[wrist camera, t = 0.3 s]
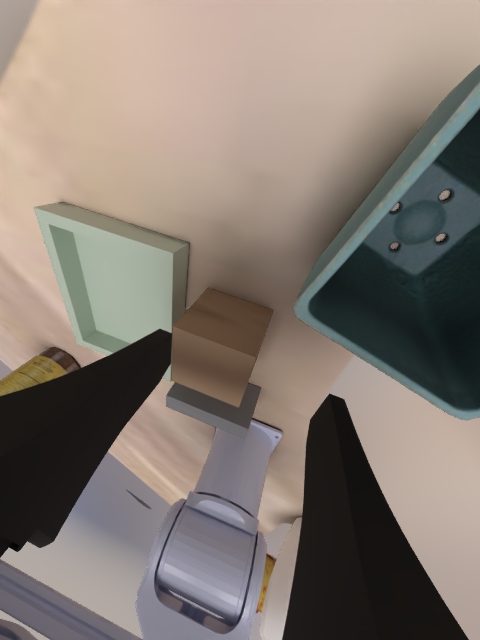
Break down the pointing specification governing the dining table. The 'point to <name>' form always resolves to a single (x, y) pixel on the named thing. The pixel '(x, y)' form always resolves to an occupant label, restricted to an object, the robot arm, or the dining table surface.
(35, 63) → the dining table surface
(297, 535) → the vase
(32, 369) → the sauce bottle
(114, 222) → the tray
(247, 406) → the block
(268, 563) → the apple
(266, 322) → the brown block
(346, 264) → the flower pot
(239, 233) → the dining table surface
